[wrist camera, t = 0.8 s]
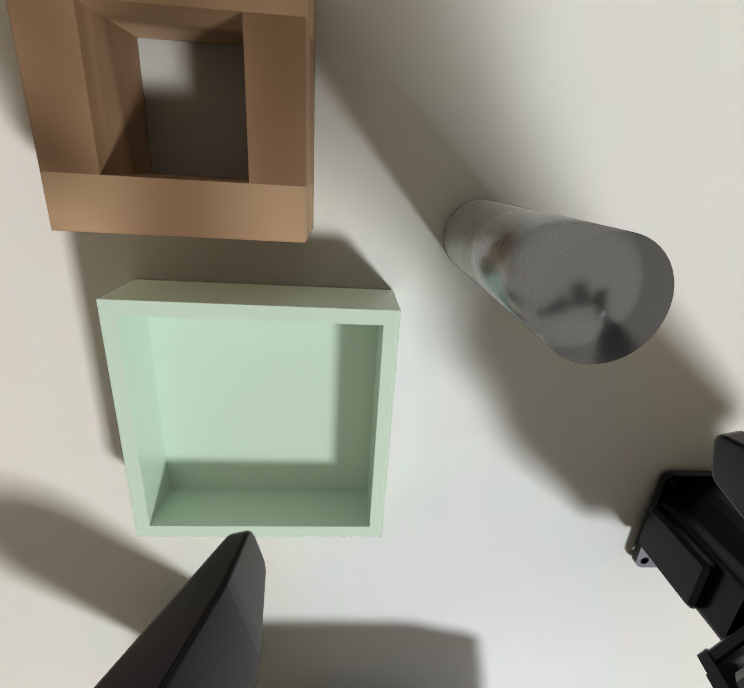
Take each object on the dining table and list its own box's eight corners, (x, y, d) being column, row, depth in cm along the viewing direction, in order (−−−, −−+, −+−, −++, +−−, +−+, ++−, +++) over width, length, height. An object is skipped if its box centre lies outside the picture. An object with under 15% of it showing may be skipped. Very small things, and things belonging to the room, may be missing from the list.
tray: (392, 289, 20) (400, 311, 17) (377, 491, 24) (381, 536, 21) (134, 279, 19) (95, 299, 16) (163, 490, 23) (137, 536, 20)
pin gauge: (518, 201, 19) (692, 234, 9) (506, 272, 20) (651, 365, 10) (448, 197, 18) (553, 226, 9) (439, 269, 19) (526, 362, 10)
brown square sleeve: (315, -7, 16) (306, -62, 12) (313, 227, 18) (305, 242, 15) (76, -29, 15) (-13, -93, 11) (112, 217, 18) (51, 230, 14)
